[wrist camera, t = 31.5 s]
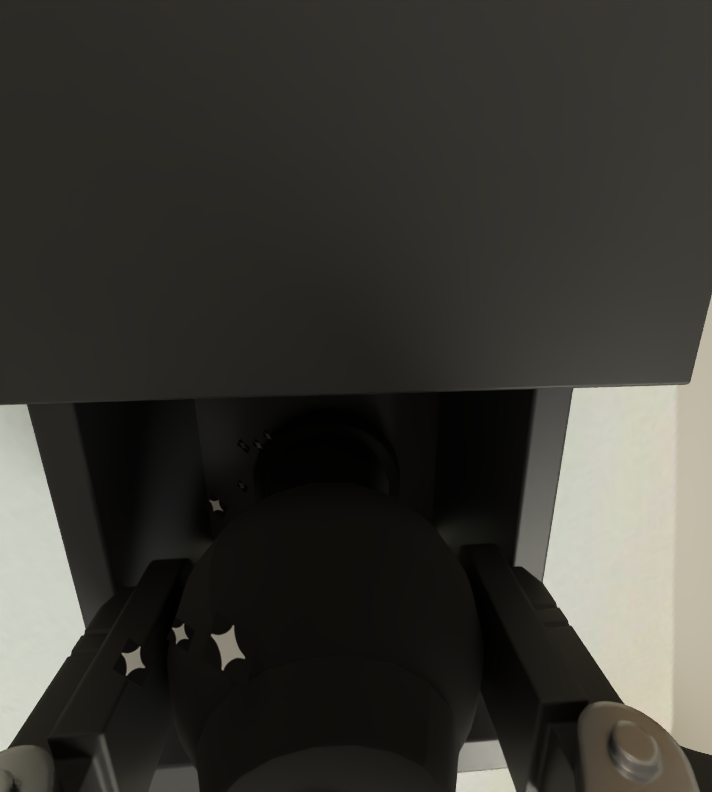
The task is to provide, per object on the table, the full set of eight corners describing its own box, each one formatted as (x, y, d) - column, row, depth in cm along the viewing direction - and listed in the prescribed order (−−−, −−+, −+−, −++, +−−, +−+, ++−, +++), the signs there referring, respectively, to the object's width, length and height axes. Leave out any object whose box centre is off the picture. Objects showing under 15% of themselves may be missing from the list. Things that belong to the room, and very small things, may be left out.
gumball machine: (190, 461, 14) (-81, 862, 5) (316, 341, 13) (296, 540, 4) (328, 574, 16) (333, 1031, 6) (448, 476, 15) (657, 839, 6)
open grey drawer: (450, 640, 20) (525, 868, 12) (203, 658, 19) (126, 911, 12) (484, 202, 14) (665, 136, 7) (131, 202, 13) (-113, 126, 6)
